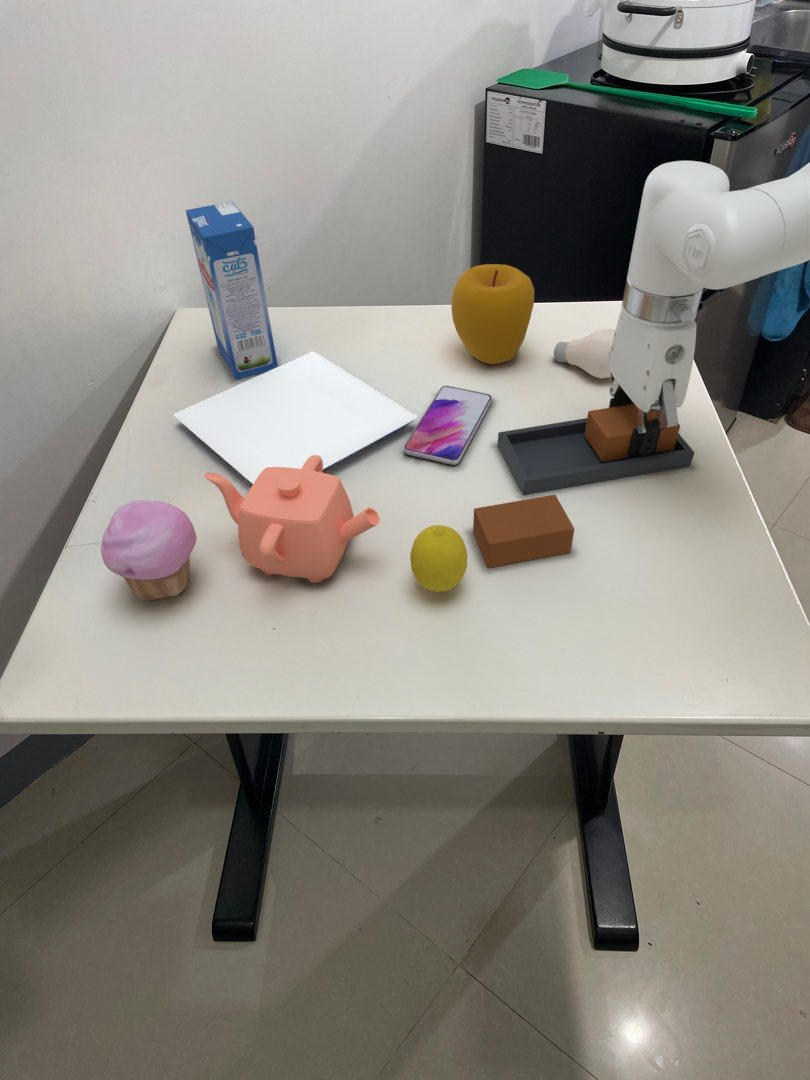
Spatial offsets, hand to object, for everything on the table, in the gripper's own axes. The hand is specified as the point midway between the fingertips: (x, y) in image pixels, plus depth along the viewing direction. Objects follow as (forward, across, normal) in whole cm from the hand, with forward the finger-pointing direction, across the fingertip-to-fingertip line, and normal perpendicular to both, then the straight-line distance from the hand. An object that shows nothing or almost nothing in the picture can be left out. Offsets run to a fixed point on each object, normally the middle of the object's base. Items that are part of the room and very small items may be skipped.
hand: (629, 438), depth 88 cm
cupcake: (+2, -9, +55) cm, 55 cm away
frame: (+2, 0, +5) cm, 5 cm away
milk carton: (+2, +34, +44) cm, 55 cm away
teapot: (+2, -8, +41) cm, 41 cm away
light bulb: (+2, +18, -2) cm, 18 cm away
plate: (+2, +15, +39) cm, 41 cm away
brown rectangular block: (0, 0, 0) cm, 0 cm away
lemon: (+2, -16, +28) cm, 32 cm away
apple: (+2, +25, +10) cm, 27 cm away
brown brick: (+1, -12, +18) cm, 21 cm away
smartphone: (+2, +10, +20) cm, 22 cm away
